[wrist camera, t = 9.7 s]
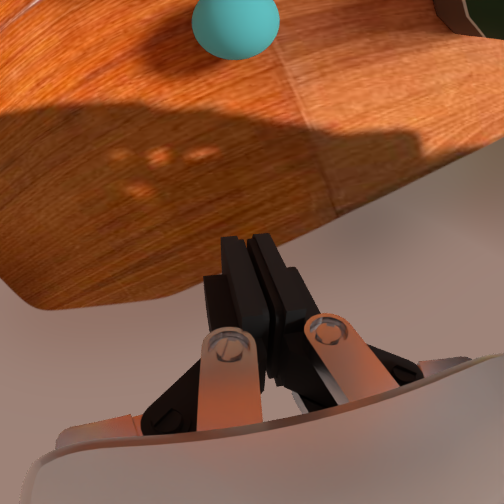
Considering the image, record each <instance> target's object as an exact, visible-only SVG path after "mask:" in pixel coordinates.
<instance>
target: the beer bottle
mask: <svg viewBox="0 0 504 504" xmlns="http://www.w3.org/2000/svg"><path fill="white" fill-rule="evenodd" d="M433 2H434V6H435V9H436V13H437V16H438V17H439V18H440V19H441V20H442V21H443V22H444V23H445V24H446V25H447V26H448V27H449V28H450V29H451V30H452V31H453V32H454V33H455V34H461V35H468V36H477V37H486V38H494V39H501V40H504V0H433Z"/></svg>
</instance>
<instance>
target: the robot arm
mask: <svg viewBox="0 0 504 504" xmlns="http://www.w3.org/2000/svg"><path fill="white" fill-rule="evenodd" d="M221 260H222V274H221V275H211V276H203V280H204V291H205V301H206V310H207V318H208V324H209V331H210V333H209V334H208V335H207V336H206V337H205V339H204V340H203V344H202V350H201V358H200V359H199V361H197V362H196V363H195V364H194V365H193V366H192V367H191V368H190V369H189V370H188V371H187V372H186V373H185V374H184V375H183V376H182V377H181V378H179V380H177V381H176V382H175V383H174V384H173V385H172V386H171V387H170V388H169V389H168V390H167V391H166V392H165V393H164V394H162V395H161V396H160V397H159V398H158V399H157V400H156V401H155V402H154V403H153V404H152V405H151V406H149V408H147V410H146V411H145V412H144V414H143V415H139V416H135V417H132V416H131V414H129V415H125V416H121V417H117V418H112V419H108V420H103V421H98V422H94V423H89V424H84V425H79V426H74V427H70V428H67V429H65V430H64V431H63V432H61V433H60V434H59V436H58V438H57V440H56V447H55V450H53V451H51V452H49V453H47V454H45V455H43V456H42V457H40V458H39V459H37V460H36V461H35V462H34V463H33V464H32V465H31V467H30V468H29V470H28V471H27V473H26V476H25V479H24V481H23V485H22V489H21V494H20V501H19V504H504V353H499V354H492V355H486V356H482V357H479V358H475V359H470V358H468V357H454V358H447V359H438V360H429V361H419V362H418V364H417V365H416V364H415V363H413V362H411V361H409V360H407V359H404V358H401V357H399V356H396V355H394V354H391V353H389V352H386V351H384V350H381V349H378V348H376V347H373V346H371V345H368V344H366V343H365V342H364V341H363V339H362V338H361V337H360V336H359V334H358V333H357V332H356V331H355V329H354V328H353V327H352V326H351V325H350V323H349V322H348V321H346V320H345V319H344V318H342V317H340V316H337V315H334V314H327V313H322V314H321V313H320V311H319V309H318V308H317V306H316V304H315V302H314V300H313V298H312V296H311V294H310V292H309V290H308V289H307V287H306V285H305V283H304V281H303V279H302V277H301V275H300V274H299V272H298V270H297V269H296V267H288V268H286V266H285V264H284V262H283V260H282V258H281V256H280V254H279V252H278V250H277V248H276V246H275V244H274V242H273V240H272V238H271V236H270V234H269V233H264V234H253V237H252V239H248V240H247V248H246V245H245V242H244V240H243V239H242V240H238V237H237V236H229V237H221ZM266 372H267V375H268V377H269V378H270V379H271V378H274V379H275V383H276V386H284V387H285V388H287V389H290V390H292V395H293V398H294V400H295V402H296V404H297V406H298V408H299V409H300V411H301V413H302V415H297V416H292V417H288V418H283V419H278V420H272V421H268V422H263V419H262V407H261V396H260V395H261V393H262V392H263V391H264V385H265V373H266Z"/></svg>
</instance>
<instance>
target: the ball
mask: <svg viewBox="0 0 504 504" xmlns="http://www.w3.org/2000/svg"><path fill="white" fill-rule="evenodd" d="M279 22H280V19H279V12H278V9H277V7H276V5H275V3H274V1H273V0H199V1H198V3H197V5H196V7H195V9H194V11H193V15H192V29H193V33H194V36H195V38H196V40H197V41H198V43H199V44H200V45H201V46H202V47H203V48H204V49H205V50H206V51H207V52H209V53H211V54H212V55H214V56H217V57H219V58H223V59H228V60H242V59H247V58H250V57H253V56H255V55H257V54H259V53H261V52H262V51H264V50H265V49H266V48H267V47H268V46H269V45H270V44H271V43H272V42H273V40H274V39H275V37H276V35H277V32H278V29H279Z"/></svg>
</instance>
